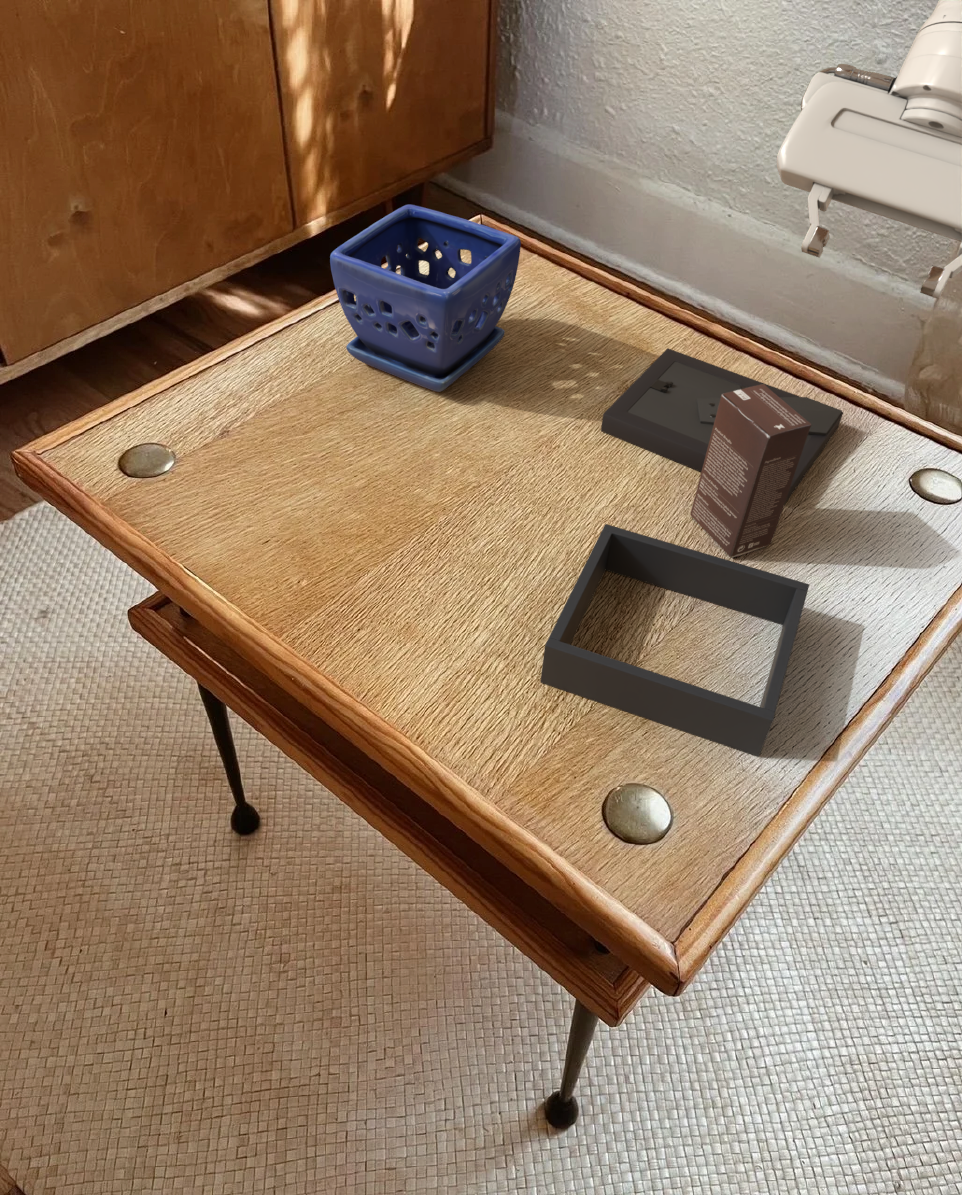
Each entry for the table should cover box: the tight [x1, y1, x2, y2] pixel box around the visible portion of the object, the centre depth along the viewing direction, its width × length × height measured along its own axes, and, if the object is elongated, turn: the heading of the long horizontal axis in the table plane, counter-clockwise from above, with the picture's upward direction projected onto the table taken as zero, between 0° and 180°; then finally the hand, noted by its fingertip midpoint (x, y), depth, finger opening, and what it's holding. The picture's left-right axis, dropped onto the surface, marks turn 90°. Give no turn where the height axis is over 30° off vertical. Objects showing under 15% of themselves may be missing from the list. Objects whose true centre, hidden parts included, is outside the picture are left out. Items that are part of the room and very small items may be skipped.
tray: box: [539, 523, 810, 757], centre depth 73 cm, size 16×14×4 cm
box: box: [690, 383, 811, 558], centre depth 80 cm, size 6×4×12 cm
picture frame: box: [600, 347, 844, 506], centre depth 93 cm, size 13×2×18 cm
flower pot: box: [329, 204, 522, 393], centre depth 96 cm, size 13×13×12 cm
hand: (868, 273), depth 78 cm, fingers open, 8 cm apart
